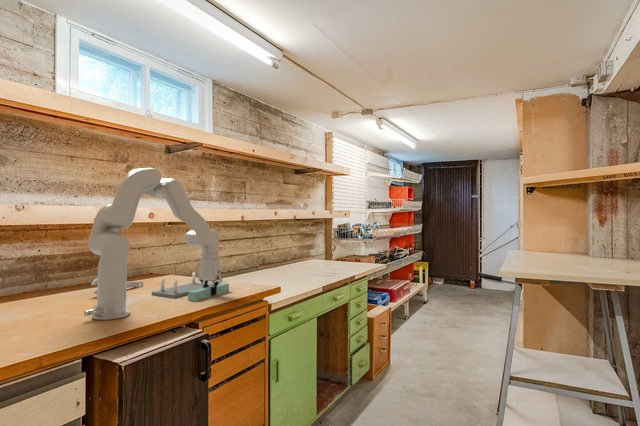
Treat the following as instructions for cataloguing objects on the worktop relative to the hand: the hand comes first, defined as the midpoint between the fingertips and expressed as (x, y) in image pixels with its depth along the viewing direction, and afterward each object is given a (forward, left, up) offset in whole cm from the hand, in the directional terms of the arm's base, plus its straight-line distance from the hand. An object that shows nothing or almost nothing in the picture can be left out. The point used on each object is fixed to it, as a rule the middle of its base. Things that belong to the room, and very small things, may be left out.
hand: (209, 294), depth 177 cm
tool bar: (0, 0, -1) cm, 1 cm away
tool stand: (+2, +17, -1) cm, 17 cm away
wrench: (-14, +44, -1) cm, 46 cm away
